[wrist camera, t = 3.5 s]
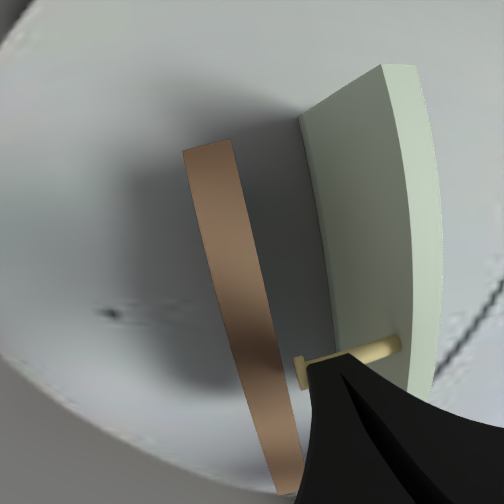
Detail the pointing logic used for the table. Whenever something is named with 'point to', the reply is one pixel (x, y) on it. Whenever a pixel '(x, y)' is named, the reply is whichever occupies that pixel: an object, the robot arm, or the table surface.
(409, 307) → the curved green slab
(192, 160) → the picture frame
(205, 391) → the table surface
